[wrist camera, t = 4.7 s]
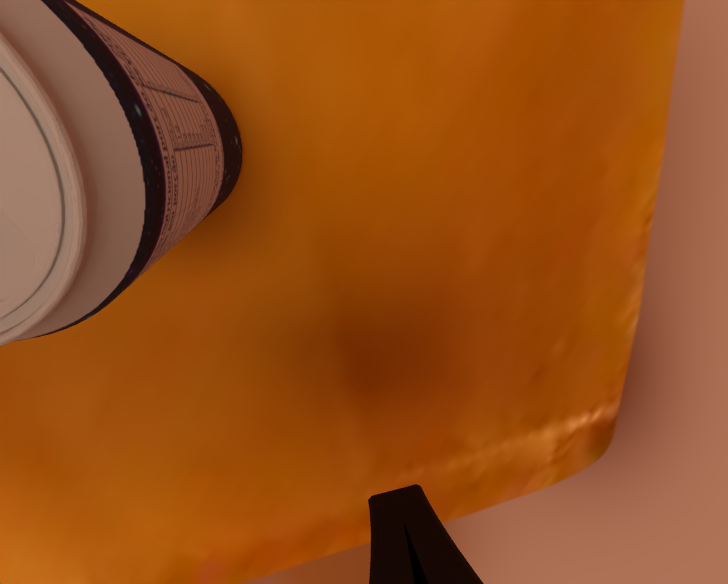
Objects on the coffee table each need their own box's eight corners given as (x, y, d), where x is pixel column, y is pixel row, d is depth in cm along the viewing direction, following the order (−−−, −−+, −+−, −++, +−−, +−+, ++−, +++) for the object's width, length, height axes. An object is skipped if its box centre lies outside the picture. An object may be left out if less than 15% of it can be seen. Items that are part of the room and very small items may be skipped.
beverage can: (156, 24, 13) (-483, -481, 2) (274, 151, 16) (219, 188, 5) (57, 137, 14) (-758, 144, 3) (182, 242, 16) (-49, 457, 5)
